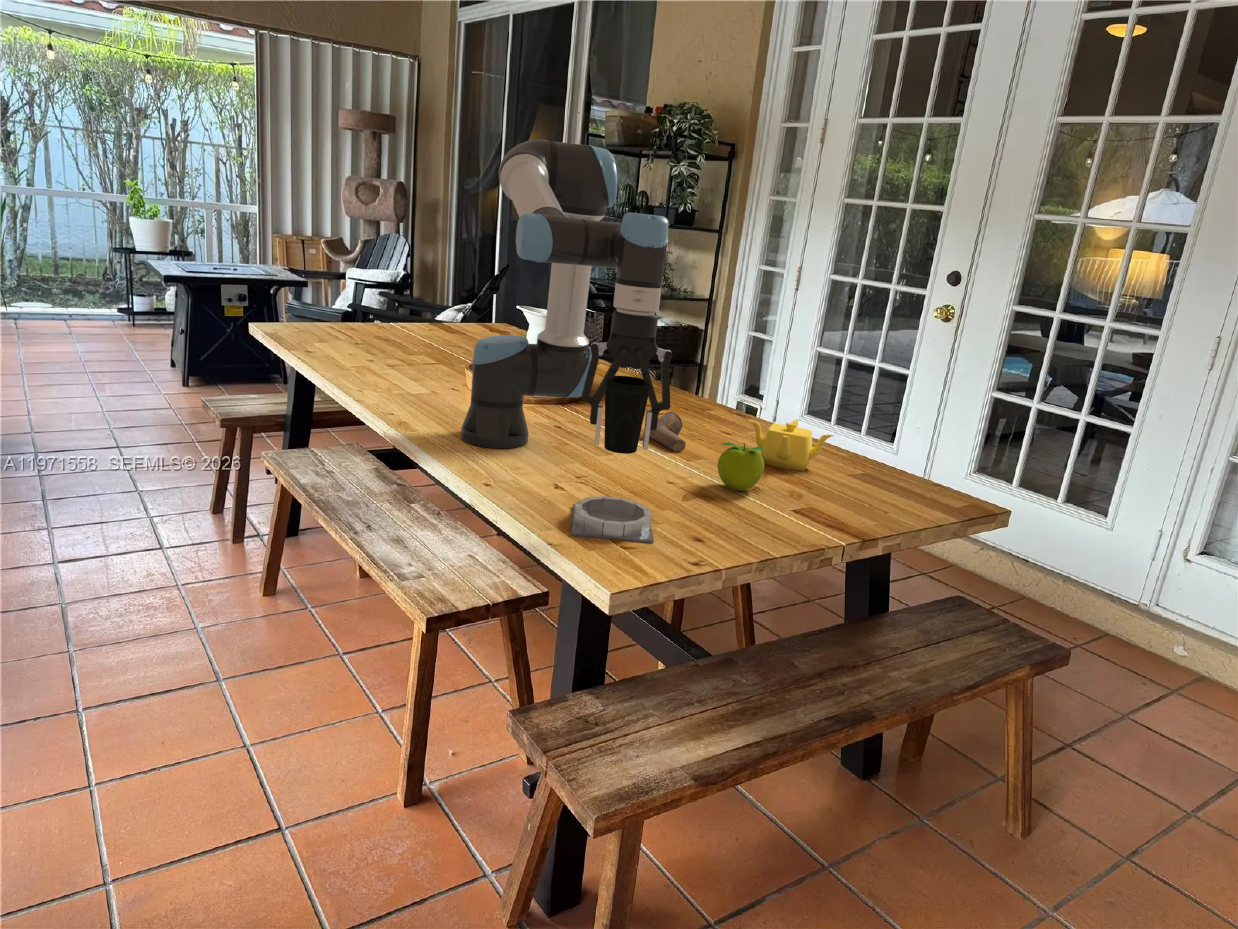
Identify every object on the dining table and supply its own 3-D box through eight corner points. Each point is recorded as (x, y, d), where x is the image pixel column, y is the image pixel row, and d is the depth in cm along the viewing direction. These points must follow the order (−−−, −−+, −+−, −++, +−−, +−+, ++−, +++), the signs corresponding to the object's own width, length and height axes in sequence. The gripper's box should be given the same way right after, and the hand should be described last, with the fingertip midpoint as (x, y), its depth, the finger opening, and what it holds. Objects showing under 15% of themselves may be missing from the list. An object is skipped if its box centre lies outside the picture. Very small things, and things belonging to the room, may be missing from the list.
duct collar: (571, 535, 142) (572, 520, 141) (573, 506, 155) (574, 492, 154) (653, 543, 142) (655, 528, 142) (648, 513, 156) (650, 500, 155)
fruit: (749, 499, 170) (757, 452, 167) (708, 487, 174) (714, 441, 171) (766, 489, 178) (774, 444, 175) (726, 478, 182) (733, 434, 179)
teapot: (828, 471, 196) (835, 431, 193) (779, 474, 190) (786, 432, 187) (789, 452, 208) (795, 414, 205) (742, 454, 202) (748, 415, 199)
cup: (597, 441, 148) (604, 373, 144) (640, 444, 148) (647, 377, 145) (599, 453, 140) (607, 383, 137) (644, 457, 141) (653, 387, 138)
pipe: (672, 434, 194) (708, 426, 199) (636, 415, 208) (670, 407, 212) (672, 460, 197) (708, 451, 201) (637, 439, 210) (670, 431, 215)
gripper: (572, 307, 133) (560, 445, 140) (700, 321, 135) (682, 457, 141) (573, 302, 141) (562, 433, 147) (695, 315, 142) (678, 444, 148)
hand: (620, 445), depth 144 cm, fingers closed on cup, 8 cm apart
